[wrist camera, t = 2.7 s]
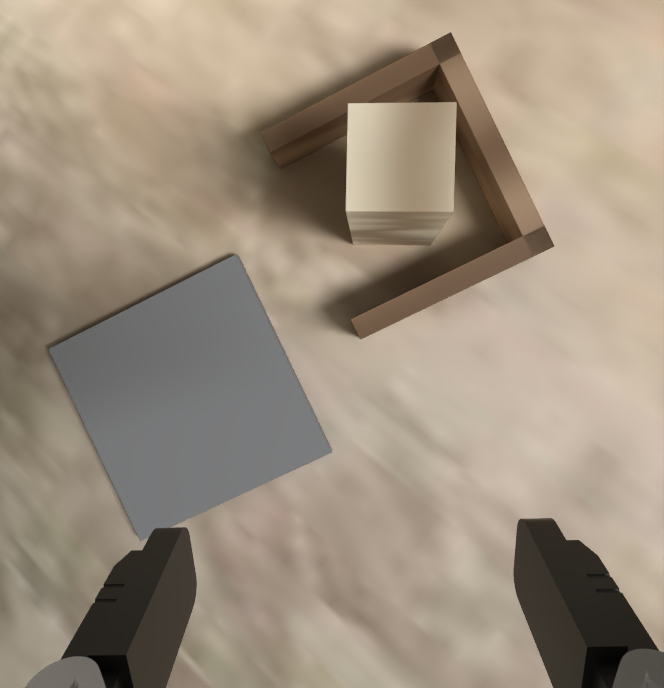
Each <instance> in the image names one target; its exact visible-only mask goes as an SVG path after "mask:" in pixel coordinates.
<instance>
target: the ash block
mask: <svg viewBox="0 0 664 688" xmlns="http://www.w3.org/2000/svg"><path fill="white" fill-rule="evenodd" d="M456 110H457V102H427V103H348V129H347V175H346V215H347V219H348V223H349V228H350V232H351V237H352V241H353V245H431V243H432V242H433V240H434V239H435V238H436V236H437V235H438V233H439V232H440V230H441V229H442V228H443V226H444V225H445V223H446V222H447V220H448V219H449V218H450V216H451V215H452V213H453V212H454V180H455V145H456Z"/></svg>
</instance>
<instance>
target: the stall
mask: <svg viewBox="0 0 664 688" xmlns="http://www.w3.org/2000/svg"><path fill="white" fill-rule="evenodd" d="M432 90H434V92H435V94H436V96H437V99H438V101H439V102H457V110H456V138H457V140H458V142H459V144H460V146H461V148H462V150H463V152H464V154H465V156H466V158H467V161H468V163H469V165H470V167H471V169H472V171H473V173H474V175H475V177H476V179H477V181H478V183H479V185H480V187H481V189H482V192H483V194H484V196H485V198H486V200H487V202H488V204H489V206H490V208H491V210H492V212H493V214H494V216H495V218H496V220H497V223H498V225H499V227H500V229H501V231H502V233H503V235H504V237H505V239H506V241H507V244H505V245H503V246H501V247H499V248H497V249H495V250H493V251H491V252H489V253H487V254H485V255H483V256H480V257H478V258H476V259H474V260H472V261H470V262H468V263H466V264H464V265H462V266H460V267H458V268H456V269H454V270H452V271H450V272H447V273H445V274H443V275H441V276H439V277H437V278H435V279H433V280H431V281H429V282H427V283H425V284H423V285H421V286H419V287H417V288H414V289H412V290H410V291H408V292H406V293H404V294H402V295H400V296H398V297H396V298H394V299H392V300H390V301H388V302H386V303H383V304H381V305H379V306H377V307H375V308H373V309H371V310H369V311H367V312H365V313H363V314H361V315H359V316H357V317H355V318H353V319H351V321H352V323H353V325H354V327H355V330H356V332H357V334H358V336H359V338H360V339H362V338H365V337H367V336H369V335H371V334H373V333H375V332H377V331H379V330H381V329H383V328H385V327H387V326H389V325H392V324H394V323H396V322H398V321H400V320H402V319H404V318H406V317H408V316H410V315H412V314H414V313H417V312H419V311H421V310H423V309H425V308H427V307H429V306H431V305H433V304H435V303H437V302H439V301H442V300H444V299H446V298H448V297H450V296H452V295H454V294H456V293H458V292H460V291H462V290H464V289H467V288H469V287H471V286H473V285H475V284H477V283H479V282H481V281H483V280H485V279H487V278H489V277H491V276H494V275H496V274H498V273H500V272H502V271H504V270H506V269H508V268H510V267H512V266H514V265H516V264H519V263H521V262H523V261H525V260H527V259H529V258H531V257H533V256H535V255H537V254H539V253H541V252H544V251H546V250H548V249H550V248H552V247H554V244H553V242H552V240H551V238H550V236H549V234H548V232H547V230H546V228H545V226H544V224H543V222H542V220H541V218H540V215H539V213H538V211H537V209H536V207H535V205H534V203H533V201H532V199H531V197H530V195H529V193H528V191H527V189H526V187H525V184H524V182H523V180H522V178H521V176H520V174H519V172H518V170H517V168H516V166H515V164H514V162H513V160H512V158H511V156H510V154H509V151H508V149H507V147H506V145H505V143H504V141H503V139H502V137H501V135H500V133H499V131H498V129H497V127H496V125H495V123H494V120H493V118H492V116H491V114H490V112H489V110H488V108H487V106H486V104H485V102H484V100H483V98H482V96H481V94H480V92H479V89H478V87H477V85H476V83H475V81H474V79H473V77H472V75H471V73H470V71H469V69H468V67H467V65H466V63H465V61H464V59H463V56H462V54H461V52H460V50H459V48H458V46H457V44H456V42H455V40H454V38H453V36H452V34H451V32H450V33H449V34H447V35H445V36H443V37H441V38H439V39H437V40H435V41H433V42H431V43H430V44H428V45H426V46H424V47H422V48H420V49H418V50H416V51H414V52H412V53H410V54H409V55H407V56H405V57H403V58H401V59H399V60H397V61H395V62H393V63H391V64H390V65H388V66H386V67H384V68H382V69H380V70H378V71H376V72H374V73H372V74H371V75H369V76H367V77H365V78H363V79H361V80H359V81H357V82H355V83H353V84H351V85H350V86H348V87H346V88H344V89H342V90H340V91H338V92H336V93H334V94H332V95H331V96H329V97H327V98H325V99H323V100H321V101H319V102H317V103H315V104H313V105H312V106H310V107H308V108H306V109H304V110H302V111H300V112H298V113H296V114H294V115H293V116H291V117H289V118H287V119H285V120H283V121H281V122H279V123H277V124H275V125H273V126H272V127H270V128H268V129H266V130H264V131H262V132H261V134H262V137H263V139H264V141H265V143H266V145H267V147H268V149H269V151H270V153H271V155H272V156H273V158H274V160H275V162H276V163H277V165H278V167H279V168H280V169H281V168H283V167H285V166H287V165H289V164H290V163H292V162H294V161H296V160H298V159H300V158H302V157H304V156H306V155H308V154H310V153H312V152H314V151H316V150H318V149H319V148H321V147H323V146H325V145H327V144H329V143H331V142H333V141H335V140H337V139H339V138H341V137H343V136H345V135H346V134H347V129H348V103H408V102H410V101H412V100H414V99H416V98H418V97H420V96H422V95H424V94H426V93H428V92H430V91H432Z"/></svg>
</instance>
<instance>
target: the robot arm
mask: <svg viewBox="0 0 664 688" xmlns="http://www.w3.org/2000/svg"><path fill="white" fill-rule="evenodd" d="M514 583H515V589H516V594H517V597H518V600H519V603H520V605H521V608H522V610H523V613H524V615H525V618H526V620H527V623H528V625H529V628H530V630H531V633H532V635H533V638H534V640H535V643H536V645H537V648H538V650H539V653H540V655H541V658H542V660H543V663H544V665H545V668H546V670H547V673H548V676H549V678H550V681H551V683H552V686H553V688H664V652H661V651H659V650H658V648H657V647H656V645H655V644H654V642H653V640H652V639H651V637H650V636H649V634H648V633H647V631H646V630H645V628H644V627H643V625H642V623H641V622H640V620H639V619H638V617H637V616H636V614H635V613H634V611H633V609H632V608H631V606H630V605H629V603H628V602H627V600H626V599H625V597H624V595H623V594H622V593H620V591H619V588H618V586H617V585H616V583H615V582H614V580H613V578H612V577H610V575H609V572H608V571H607V569H606V568H605V566H604V564H603V563H602V561H601V560H600V558H599V557H598V555H596V554H595V553H594V552H593V551H591V550H590V549H589V548H588V547H587V546H585V545H584V544H583V543H582V542H580V541H579V540H566V539H565V537H564V535H563V534H562V532H561V530H560V529H559V527H558V525H557V524H556V522H555V521H554V520H553V519H552V518H539V519H520V520H519V521H518V525H517V536H516V548H515V560H514ZM196 587H197V582H196V573H195V566H194V560H193V554H192V548H191V541H190V535H189V531H188V529H187V528H186V527H183V528H155V529H154V530H153V531H152V533H151V535H150V537H149V539H148V541H147V543H146V545H145V546H144V548H143V550H139V551H130V552H129V553H128V554H127V555H126V556H125V557H124V558H123V559H122V560H121V561H119V562H118V563H117V564H116V565H115V566H114V567H113V569H112V571H111V573H110V574H109V576H108V578H107V580H106V581H105V583H104V587H103V588H101V590H100V592H99V593H98V595H97V597H96V599H95V603H93V604H92V606H91V607H90V609H89V611H88V613H87V614H86V616H85V618H84V620H83V621H82V623H81V625H80V627H79V628H78V630H77V632H76V634H75V635H74V637H73V639H72V641H71V642H70V644H69V646H68V648H67V649H66V651H65V653H64V655H63V656H62V658H61V660H59V661H57V662H54V663H52V664H51V665H49V666H47V667H46V668H44V669H43V670H41V671H40V672H39V673H38V674H37V675H35V676H34V677H33V678H32V679H31V680H30V682H29V683H28V684H27V685H26V687H25V688H166V685H167V682H168V679H169V676H170V674H171V671H172V668H173V665H174V662H175V659H176V656H177V653H178V650H179V647H180V644H181V641H182V638H183V635H184V633H185V630H186V627H187V624H188V621H189V618H190V615H191V612H192V609H193V606H194V602H195V597H196Z"/></svg>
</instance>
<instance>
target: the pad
mask: <svg viewBox="0 0 664 688" xmlns="http://www.w3.org/2000/svg"><path fill="white" fill-rule="evenodd" d="M48 350H49V352H50V354H51V356H52V358H53V360H54V362H55V364H56V366H57V368H58V370H59V372H60V375H61V377H62V379H63V381H64V383H65V385H66V387H67V389H68V391H69V393H70V395H71V398H72V400H73V402H74V404H75V406H76V408H77V410H78V412H79V414H80V416H81V418H82V421H83V423H84V425H85V427H86V429H87V431H88V433H89V435H90V437H91V439H92V441H93V444H94V446H95V448H96V450H97V452H98V454H99V456H100V458H101V460H102V462H103V464H104V467H105V469H106V471H107V473H108V475H109V477H110V479H111V481H112V483H113V485H114V487H115V489H116V492H117V494H118V496H119V498H120V500H121V502H122V504H123V506H124V508H125V510H126V512H127V515H128V517H129V519H130V521H131V523H132V525H133V527H134V529H135V531H136V533H137V535H138V538H139V540H140V541H142V540H144V539H146V538H148V537H150V535H151V533H152V531H153V530H154V529H155V528H170V527H172V526H174V525H176V524H178V523H180V522H183V521H185V520H187V519H189V518H191V517H193V516H196V515H198V514H200V513H202V512H204V511H206V510H209V509H211V508H213V507H215V506H217V505H219V504H221V503H224V502H226V501H228V500H230V499H232V498H234V497H237V496H239V495H241V494H243V493H245V492H247V491H250V490H252V489H254V488H256V487H258V486H260V485H263V484H265V483H267V482H269V481H271V480H273V479H275V478H278V477H280V476H282V475H284V474H286V473H288V472H291V471H293V470H295V469H297V468H299V467H301V466H304V465H306V464H308V463H310V462H312V461H314V460H316V459H319V458H321V457H323V456H325V455H327V454H329V453H331V452H332V449H331V447H330V445H329V443H328V440H327V438H326V436H325V434H324V432H323V430H322V428H321V426H320V424H319V422H318V420H317V418H316V416H315V413H314V411H313V409H312V407H311V405H310V403H309V401H308V399H307V397H306V395H305V393H304V391H303V388H302V386H301V384H300V382H299V380H298V378H297V376H296V374H295V372H294V370H293V368H292V366H291V364H290V361H289V359H288V357H287V355H286V353H285V351H284V349H283V347H282V345H281V343H280V341H279V339H278V337H277V334H276V332H275V330H274V328H273V326H272V324H271V322H270V320H269V318H268V316H267V314H266V312H265V309H264V307H263V305H262V303H261V301H260V299H259V297H258V295H257V293H256V291H255V289H254V287H253V285H252V282H251V280H250V278H249V276H248V274H247V272H246V270H245V268H244V266H243V264H242V262H241V260H240V258H239V256H238V255H237V254H235V255H233V256H232V257H230V258H228V259H226V260H224V261H222V262H220V263H218V264H216V265H214V266H212V267H210V268H208V269H206V270H204V271H202V272H200V273H198V274H196V275H194V276H192V277H190V278H188V279H186V280H184V281H182V282H180V283H178V284H176V285H174V286H172V287H170V288H168V289H166V290H164V291H162V292H160V293H158V294H156V295H154V296H152V297H151V298H149V299H147V300H145V301H143V302H141V303H139V304H137V305H135V306H133V307H131V308H129V309H127V310H125V311H123V312H121V313H119V314H117V315H115V316H113V317H111V318H109V319H107V320H105V321H103V322H101V323H99V324H97V325H95V326H93V327H91V328H89V329H87V330H85V331H83V332H81V333H79V334H77V335H75V336H73V337H71V338H70V339H68V340H66V341H64V342H62V343H60V344H58V345H56V346H54V347H52V348H50V349H48Z"/></svg>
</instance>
